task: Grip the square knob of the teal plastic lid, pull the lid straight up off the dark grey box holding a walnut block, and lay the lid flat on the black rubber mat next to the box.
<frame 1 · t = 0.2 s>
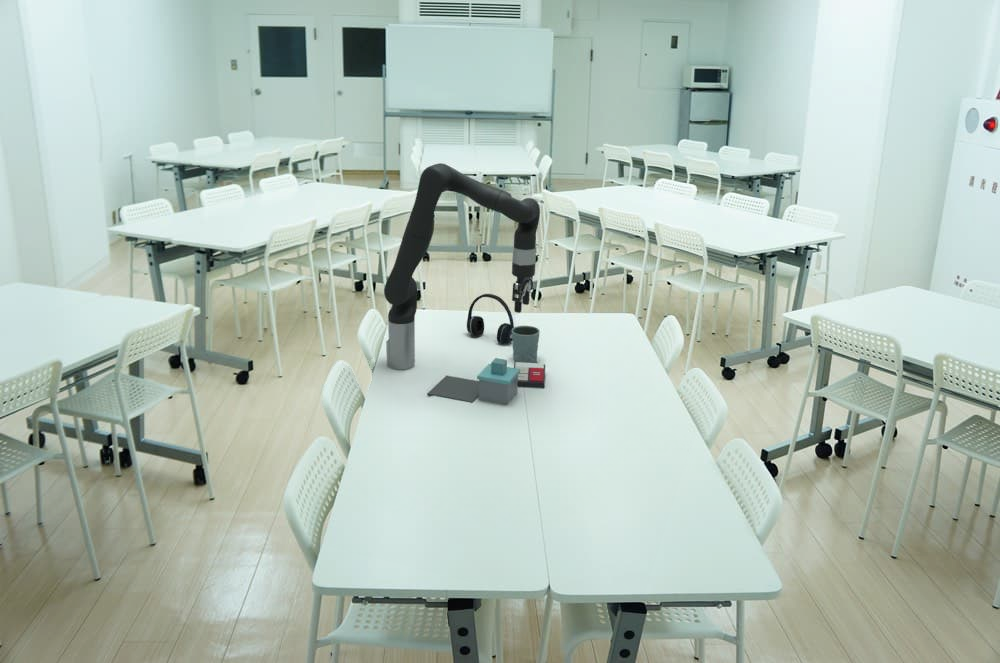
hand: (521, 308, 279), 28 cm above the table, tool pointing down, fingers open, 8 cm apart
calculator: (528, 381, 295), on the table
lid: (498, 379, 278), point 6 cm above the table, touching box
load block: (498, 396, 280), point 1 cm above the table, touching box
box: (498, 397, 280), on the table
headphones: (490, 340, 330), on the table
grey cup: (524, 361, 311), on the table
mat: (458, 390, 285), on the table
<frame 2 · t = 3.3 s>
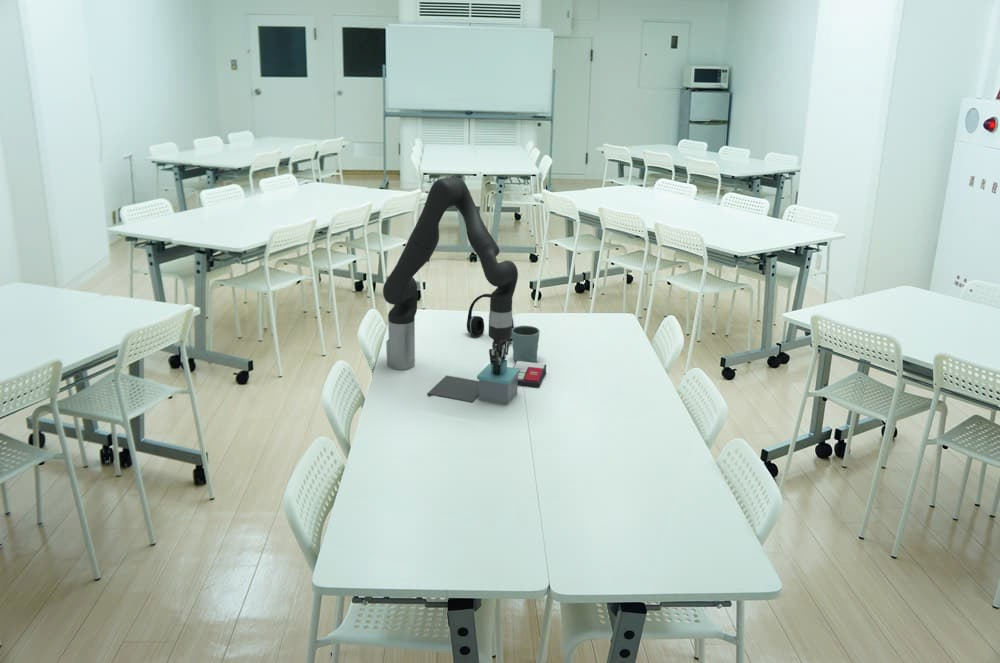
hand: (498, 371, 277), 9 cm above the table, tool pointing down, fingers closed on lid, 4 cm apart
lid: (498, 379, 278), point 7 cm above the table, touching box, gripper
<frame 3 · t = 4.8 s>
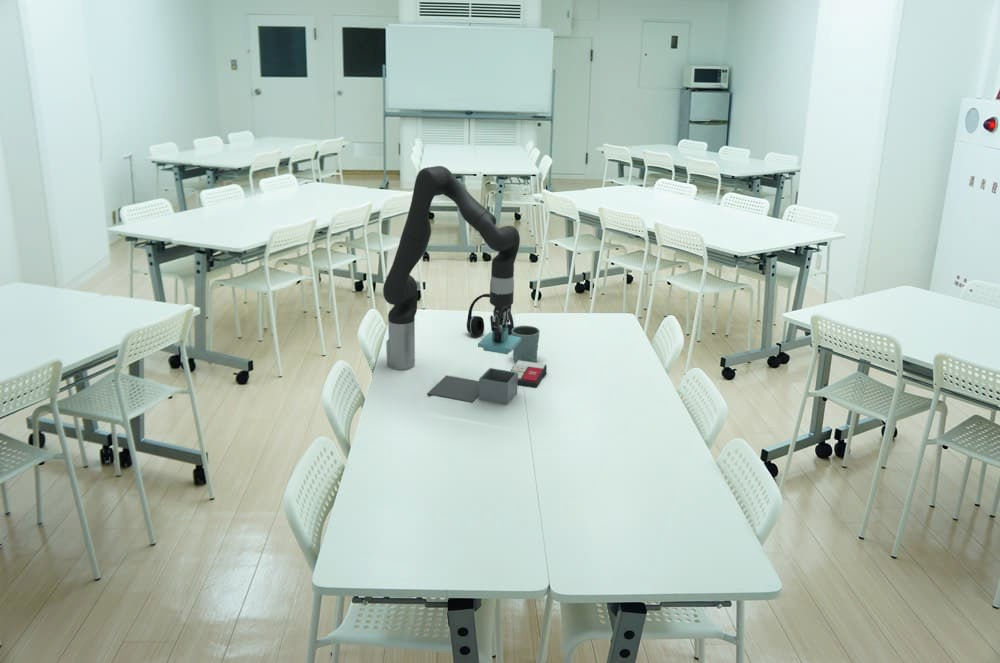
hand: (499, 339, 273), 21 cm above the table, tool pointing down, fingers closed on lid, 4 cm apart
lid: (499, 348, 274), point 18 cm above the table, touching gripper
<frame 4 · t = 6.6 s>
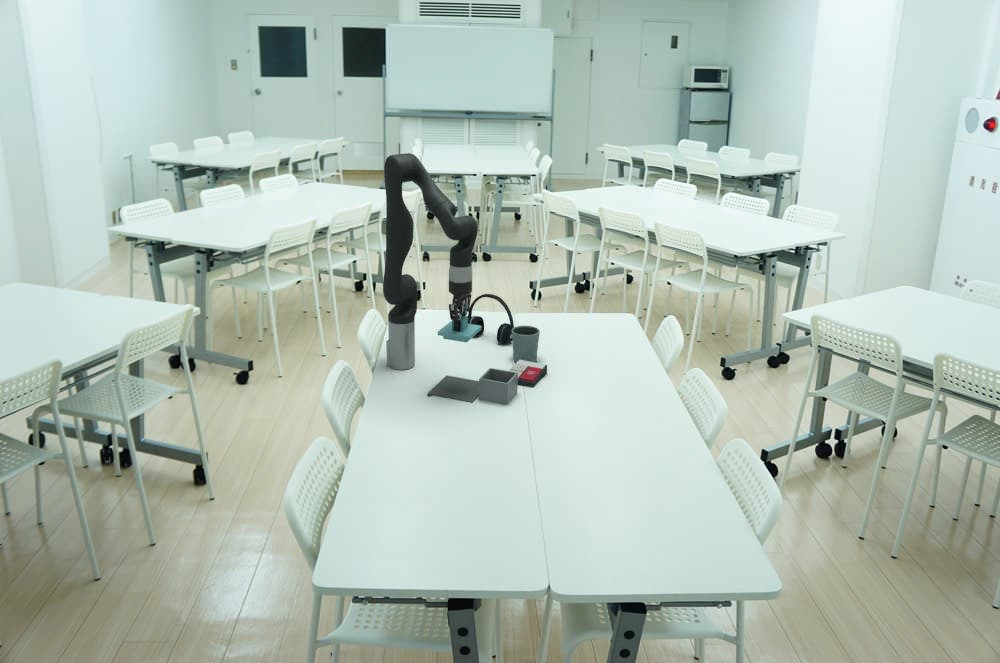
hand: (459, 328, 277), 22 cm above the table, tool pointing down, fingers closed on lid, 4 cm apart
lid: (459, 336, 278), point 20 cm above the table, touching gripper
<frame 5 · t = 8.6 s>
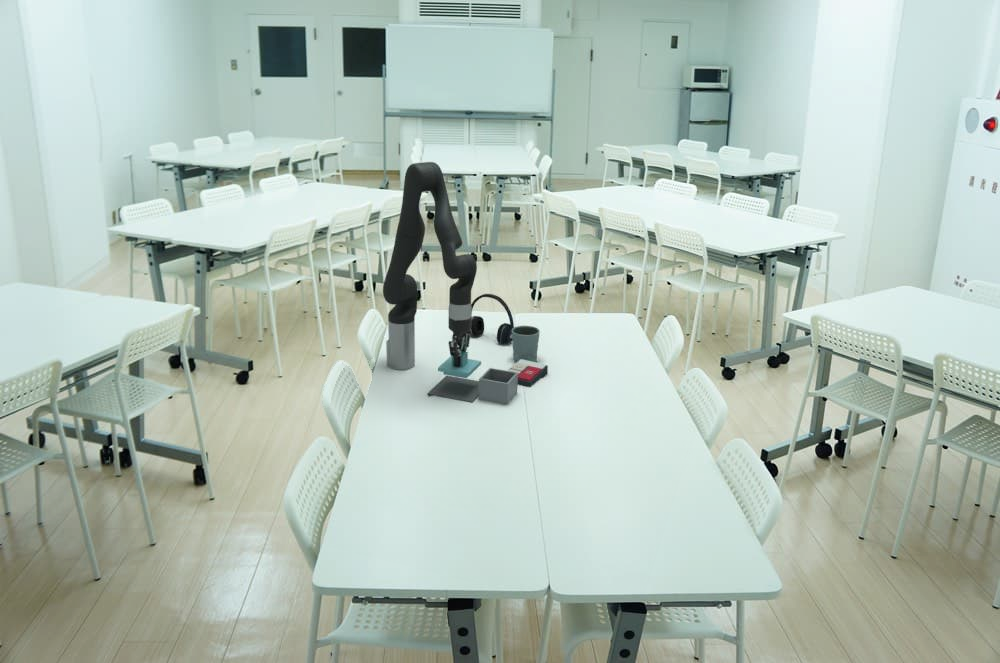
hand: (459, 363, 281), 10 cm above the table, tool pointing down, fingers closed on lid, 4 cm apart
lid: (459, 371, 282), point 7 cm above the table, touching gripper
when the fingers open (6 cm above the table, at t = 10.3 s): lid drops 2 cm, resting on mat.
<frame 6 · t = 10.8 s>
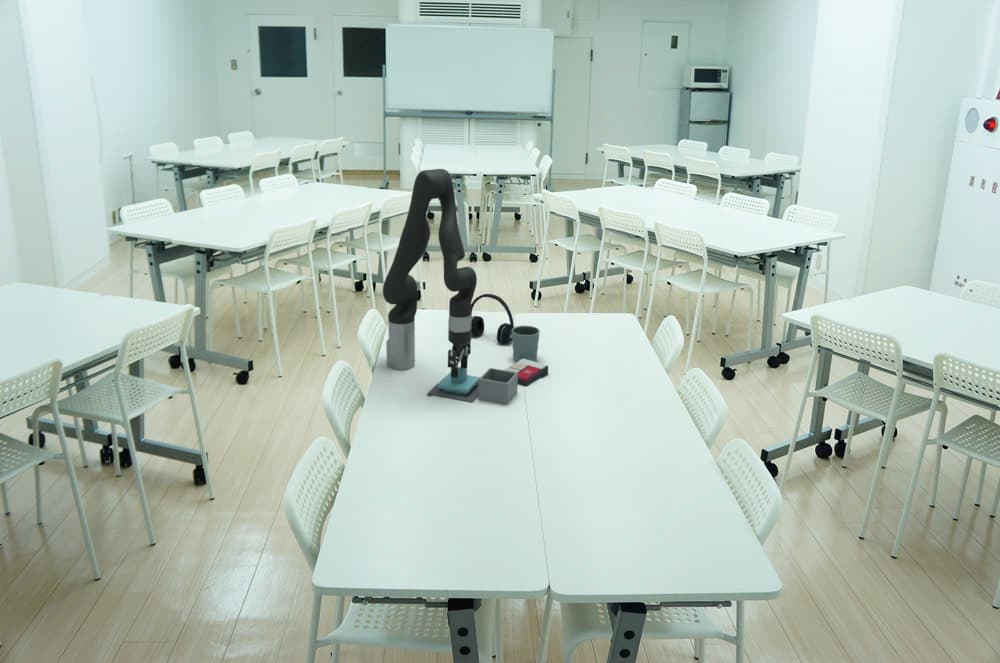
hand: (459, 372, 282), 7 cm above the table, tool pointing down, fingers open, 8 cm apart
lid: (459, 388, 284), point 1 cm above the table, touching mat
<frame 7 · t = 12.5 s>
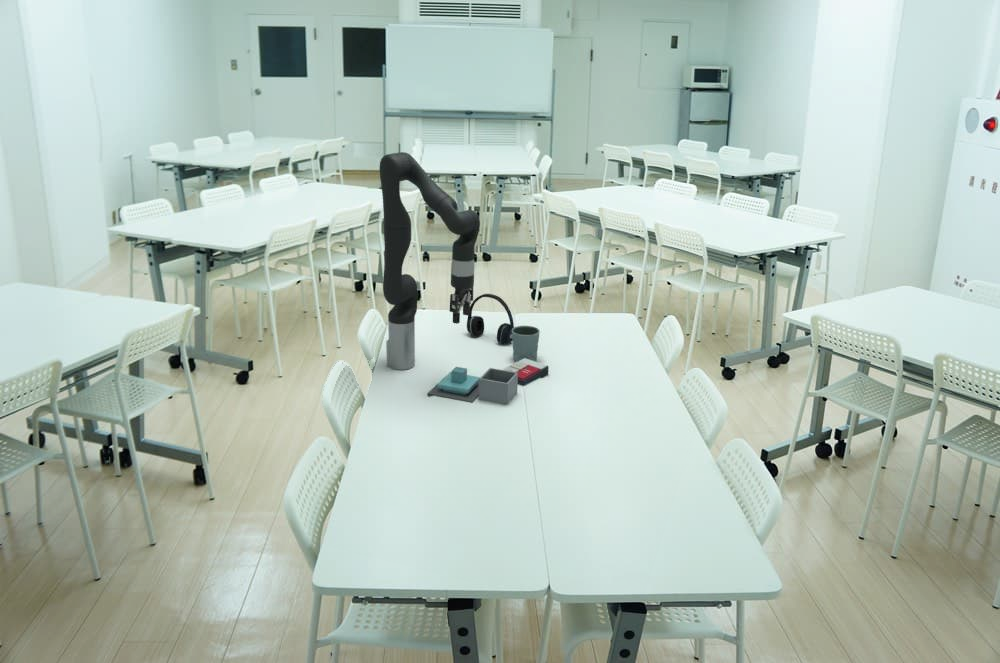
hand: (461, 318, 280), 24 cm above the table, tool pointing down, fingers open, 8 cm apart
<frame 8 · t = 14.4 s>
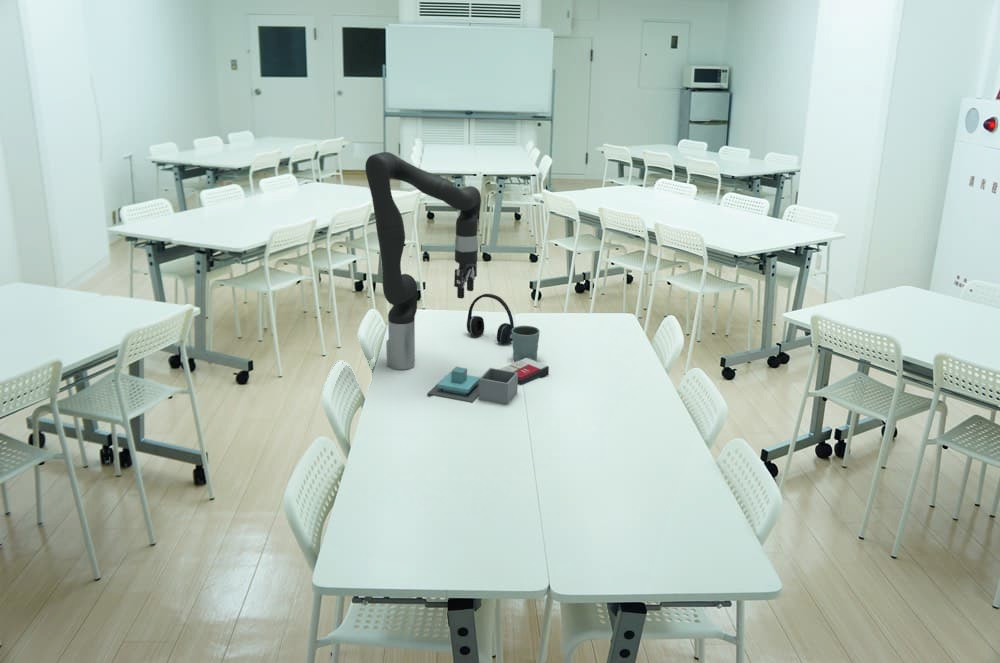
hand: (465, 294, 286), 30 cm above the table, tool pointing down, fingers open, 8 cm apart
at the end: lid inside the target area on the mat (0.0 cm from its centre), point 1.0 cm above the mat's base; lid tilted 0°; the gripper is holding nothing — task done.
